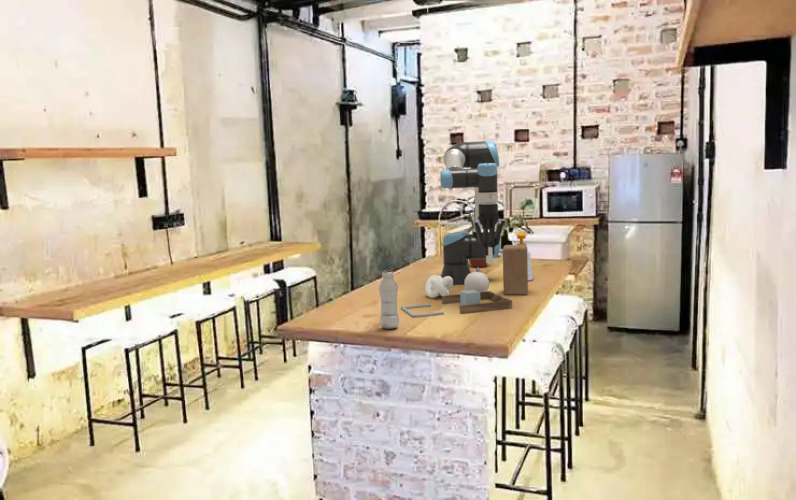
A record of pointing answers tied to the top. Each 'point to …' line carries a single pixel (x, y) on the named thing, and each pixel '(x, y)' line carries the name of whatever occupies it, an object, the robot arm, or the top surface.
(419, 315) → the corral
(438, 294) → the white lobed knot
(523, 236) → the soap bottle
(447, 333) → the top surface
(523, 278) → the wooden block
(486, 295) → the brown flat u-shaped frame
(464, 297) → the cube
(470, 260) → the potted plant
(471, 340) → the top surface
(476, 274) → the ornament
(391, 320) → the plastic bottle
